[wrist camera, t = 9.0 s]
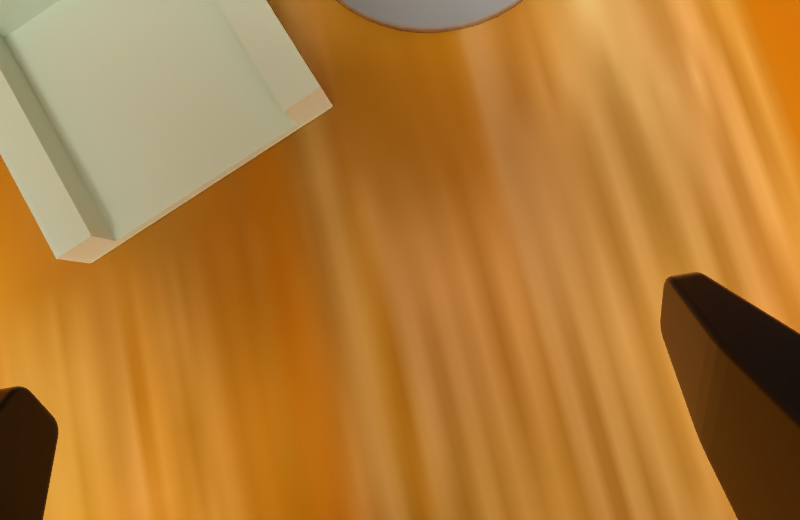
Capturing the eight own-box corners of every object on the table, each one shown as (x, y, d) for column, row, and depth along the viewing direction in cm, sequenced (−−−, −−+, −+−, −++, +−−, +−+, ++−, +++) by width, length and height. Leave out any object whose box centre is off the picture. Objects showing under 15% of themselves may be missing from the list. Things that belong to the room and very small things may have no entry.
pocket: (333, 106, 23) (320, 86, 21) (90, 263, 24) (56, 258, 22) (192, -118, 25) (167, -157, 23) (-34, 34, 25) (-77, 10, 23)
